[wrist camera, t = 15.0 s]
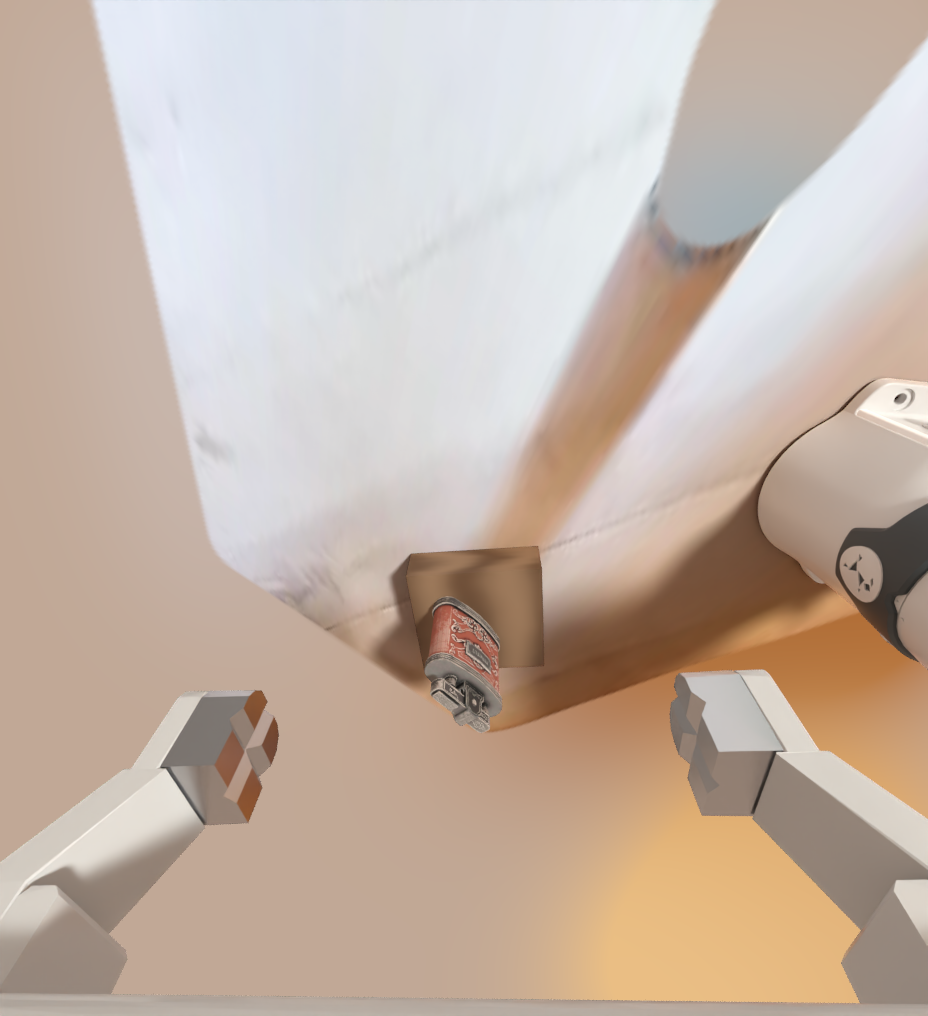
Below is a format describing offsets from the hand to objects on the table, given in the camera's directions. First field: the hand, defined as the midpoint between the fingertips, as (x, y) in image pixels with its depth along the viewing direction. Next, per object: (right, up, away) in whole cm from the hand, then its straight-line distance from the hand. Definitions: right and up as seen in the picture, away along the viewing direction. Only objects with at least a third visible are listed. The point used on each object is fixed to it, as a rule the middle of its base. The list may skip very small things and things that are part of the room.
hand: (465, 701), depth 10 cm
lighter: (0, -7, +36) cm, 37 cm away
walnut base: (+1, -5, +39) cm, 39 cm away
